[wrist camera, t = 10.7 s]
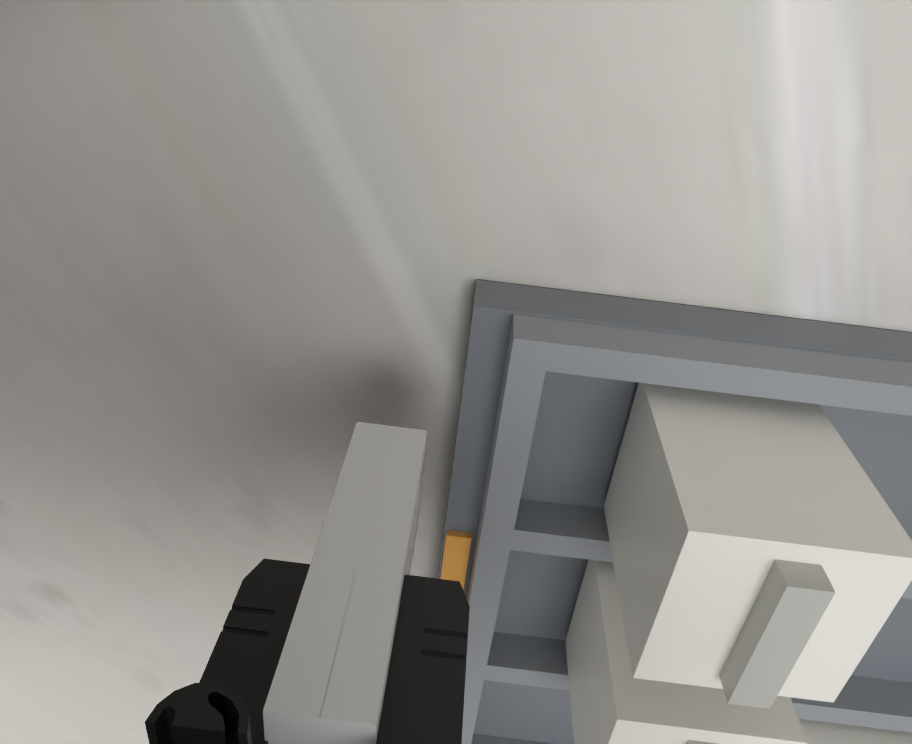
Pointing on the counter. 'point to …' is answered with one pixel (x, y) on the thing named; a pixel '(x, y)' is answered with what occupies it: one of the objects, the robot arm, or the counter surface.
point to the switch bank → (592, 465)
